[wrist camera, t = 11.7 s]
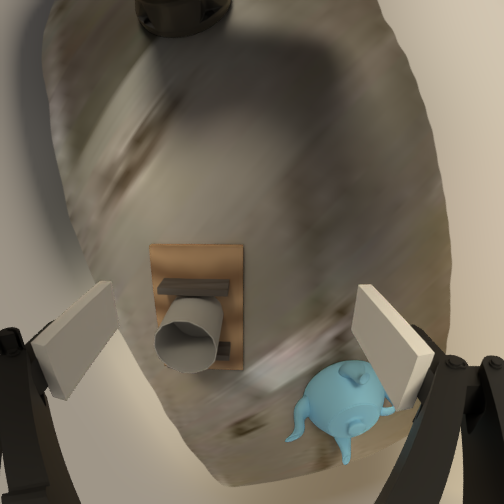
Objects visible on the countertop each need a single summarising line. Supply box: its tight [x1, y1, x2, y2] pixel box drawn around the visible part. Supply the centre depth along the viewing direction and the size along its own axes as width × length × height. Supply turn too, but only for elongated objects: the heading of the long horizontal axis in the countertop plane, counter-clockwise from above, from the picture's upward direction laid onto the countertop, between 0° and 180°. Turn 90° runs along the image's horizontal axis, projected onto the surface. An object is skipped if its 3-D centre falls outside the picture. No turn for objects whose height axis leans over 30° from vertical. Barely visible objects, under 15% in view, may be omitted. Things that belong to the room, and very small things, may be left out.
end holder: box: [149, 244, 243, 370], centre depth 44 cm, size 22×14×5 cm, turn 179°
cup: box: [154, 295, 224, 373], centre depth 40 cm, size 8×8×10 cm
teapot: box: [285, 360, 396, 465], centre depth 45 cm, size 17×19×12 cm
